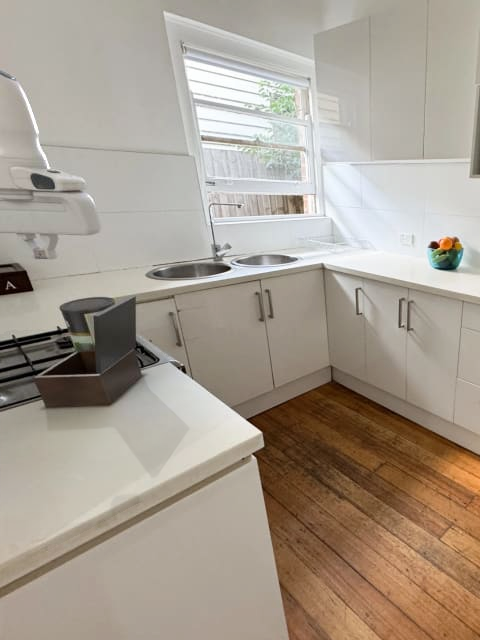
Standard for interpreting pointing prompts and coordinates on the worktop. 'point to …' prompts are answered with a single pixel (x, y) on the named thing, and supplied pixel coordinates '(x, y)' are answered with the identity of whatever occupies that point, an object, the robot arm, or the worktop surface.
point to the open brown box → (86, 380)
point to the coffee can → (83, 319)
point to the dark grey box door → (114, 333)
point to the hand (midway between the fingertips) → (45, 258)
